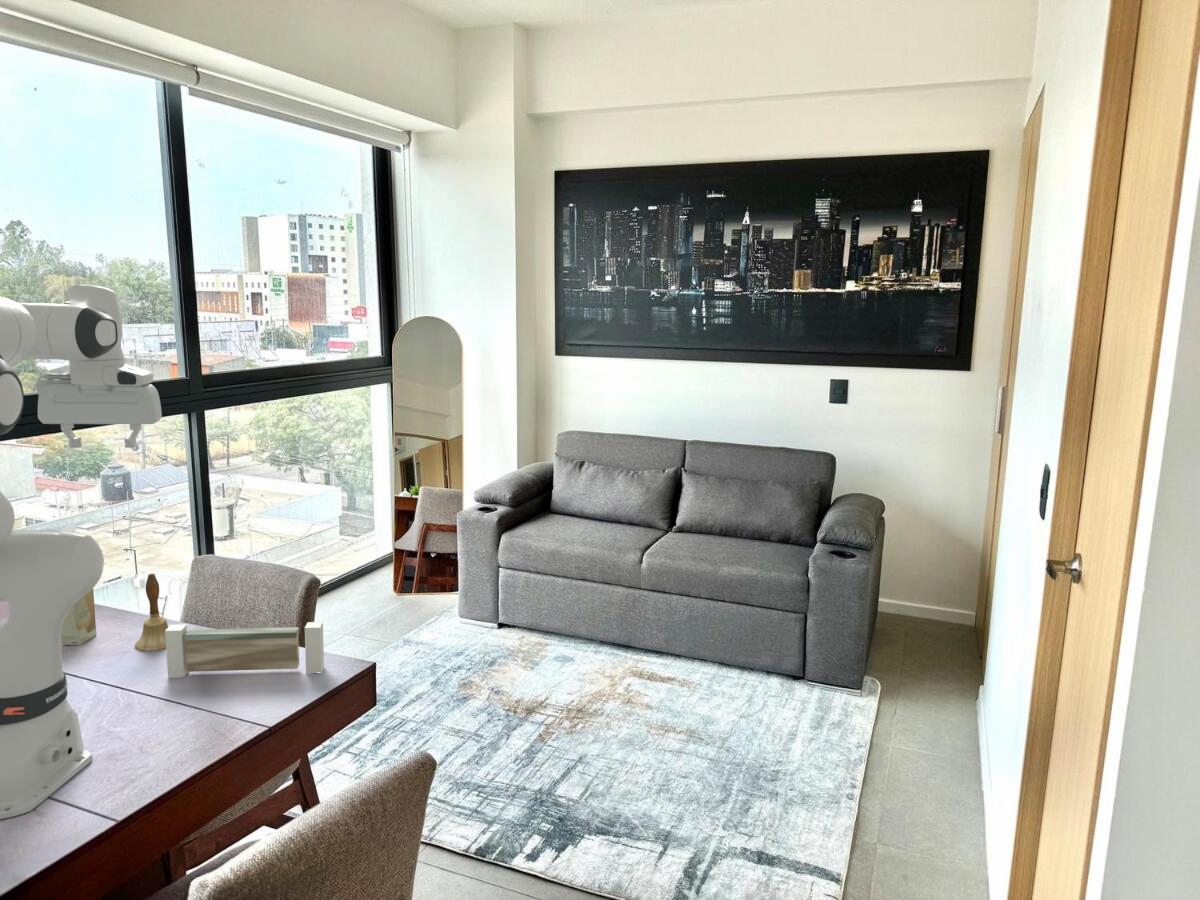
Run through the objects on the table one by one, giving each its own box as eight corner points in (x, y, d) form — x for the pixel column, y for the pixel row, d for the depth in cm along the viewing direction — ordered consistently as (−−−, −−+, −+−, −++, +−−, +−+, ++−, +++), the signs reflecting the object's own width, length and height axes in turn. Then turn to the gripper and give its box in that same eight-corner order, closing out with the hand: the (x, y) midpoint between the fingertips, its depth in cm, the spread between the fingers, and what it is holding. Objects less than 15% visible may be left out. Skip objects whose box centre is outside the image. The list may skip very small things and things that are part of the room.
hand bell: (174, 649, 178) (169, 578, 175) (130, 653, 175) (125, 581, 172) (180, 634, 185) (176, 566, 183) (139, 638, 183) (134, 569, 180)
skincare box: (79, 646, 178) (75, 592, 175) (59, 645, 178) (55, 591, 176) (98, 634, 184) (94, 582, 182) (78, 633, 184) (74, 581, 182)
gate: (296, 669, 168) (295, 632, 167) (186, 672, 165) (184, 634, 164) (299, 663, 171) (298, 627, 169) (191, 666, 168) (189, 629, 166)
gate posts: (321, 673, 169) (320, 627, 167) (168, 678, 164) (165, 630, 163) (324, 667, 172) (322, 621, 170) (173, 671, 167) (170, 624, 166)
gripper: (27, 374, 148) (34, 450, 150) (151, 376, 152) (156, 450, 155) (43, 371, 154) (49, 444, 157) (162, 373, 158) (166, 444, 161)
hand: (103, 447), depth 156 cm, fingers open, 8 cm apart
